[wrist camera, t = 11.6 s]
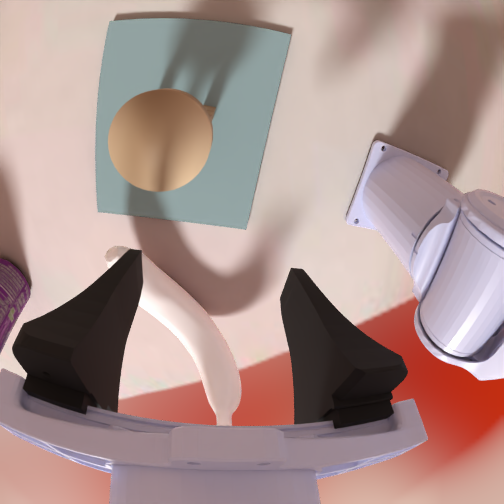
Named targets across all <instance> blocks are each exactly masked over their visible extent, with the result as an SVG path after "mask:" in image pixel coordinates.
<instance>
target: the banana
mask: <svg viewBox="0 0 504 504" xmlns="http://www.w3.org/2000/svg"><path fill="white" fill-rule="evenodd" d="M129 249H130V248H128V247H124V246H115V247H112V248H110V249H109V250H108V251H107V253H106V255H105V259H106V262H107V266H108V269H109V268H110V267H111V266H112V265H113V264H114V263H115V262H116V261H117V260H118V259H119V258H120V257H122V256H123V255H124V254H125V253H126V252H127V251H128V250H129ZM142 269H143V287H142V292H141V297H140V301H139V304H138V305H139V306H140V307H142V308H143V309H145V310H146V311H147V312H149V313H150V314H152V315H153V316H154V317H155V318H156V319H158V320H159V321H160V322H161V323H163V324H164V325H165V326H166V327H167V328H168V329H170V330H171V331H172V332H173V333H174V334H175V335H176V336H177V337H178V339H179V340H180V341H181V342H182V343H183V345H184V346H185V347H186V349H187V350H188V351H189V353H190V355H191V356H192V358H193V360H194V361H195V363H196V365H197V368H198V370H199V373H200V376H201V379H202V382H203V385H204V389H205V392H206V395H207V398H208V401H209V403H210V405H211V407H212V409H213V410H214V412H215V413H216V417H217V426H232V420H231V417H232V413H233V412H234V411H235V410H236V408H237V407H238V405H239V403H240V398H241V382H240V376H239V372H238V368H237V365H236V362H235V360H234V357H233V355H232V352H231V350H230V348H229V346H228V344H227V342H226V340H225V338H224V337H223V335H222V333H221V332H220V331H219V329H218V328H217V326H216V325H215V323H214V322H213V320H212V319H211V317H210V316H209V315H208V313H207V312H206V311H205V310H204V309H203V308H202V307H201V305H200V304H199V303H198V302H197V301H196V300H195V299H194V298H193V297H192V296H191V295H189V294H188V293H187V292H186V291H185V290H184V289H183V288H182V287H181V286H180V285H178V284H177V283H176V282H175V281H174V280H173V279H172V278H170V277H169V276H168V275H167V274H166V273H164V272H163V271H162V270H161V269H160V268H158V267H157V266H156V265H155V264H154V263H153V262H152V261H151V260H150V259H149V258H148V257H147V256H145V255H144V254H142Z"/></svg>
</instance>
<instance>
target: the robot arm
mask: <svg viewBox="0 0 504 504" xmlns="http://www.w3.org/2000/svg"><path fill="white" fill-rule="evenodd" d="M382 146H384V150H381V148H382ZM438 170H439V171H438ZM437 171H438V172H437ZM448 174H449V173H448V171H447V170H446V169H444V168H442V167H440V166H438V165H436V164H434V163H432V162H430V161H427V160H425V159H423V158H421V157H419V156H416V155H414V154H412V153H409V152H407V151H405V150H402V149H400V148H397V147H395V146H392V145H390V144H387V143H385V142H382V141H379V140H376V141H374V142H373V144H372V147H371V150H370V153H369V156H368V159H367V161H366V164H365V167H364V170H363V173H362V176H361V179H360V181H359V184H358V187H357V190H356V192H355V195H354V198H353V200H352V203H351V206H350V208H349V211H348V213H347V216H346V222H347V223H348V224H349V225H353V226H358V227H363V228H368V229H373V230H377V231H378V232H379V233H380V234H381V236H382V237H383V238H384V240H385V241H386V242H387V244H388V245H389V246H390V248H391V249H392V250H393V252H394V253H395V254H396V256H397V257H398V258H399V260H400V261H401V263H402V264H403V265H404V267H405V268H406V270H407V271H408V273H409V274H410V275H411V277H412V278H413V280H414V287H413V290H412V292H413V293H414V295H415V296H416V298H417V300H418V301H419V305H418V307H417V309H416V311H415V316H414V323H415V328H416V331H417V334H418V336H419V338H420V340H421V342H422V343H423V344H424V346H425V347H426V348H427V349H428V350H429V351H430V352H431V353H432V354H433V355H435V356H436V357H437V358H439V359H440V360H442V361H444V362H447V363H450V364H453V365H457V366H460V367H463V368H464V369H466V370H468V371H469V372H470V373H472V374H473V375H474V376H475V377H476V378H478V379H479V380H493V379H500V378H504V197H502V196H500V195H498V194H495V193H493V192H490V191H486V190H482V189H477V190H474V191H472V192H467V193H465V194H463V193H462V192H461V191H459V190H458V189H457V188H455V187H454V186H452V185H451V184H450V183H448V182H447V181H446V180H447V178H448ZM355 219H358V220H357V221H356V222H354V220H355ZM142 287H143V269H142V250H134V249H129V250H128V251H127V252H126V253H125V254H124V255H123V256H122V257H120V258H119V259H118V260H117V261H116V262H115V263H114V264H113V265H112V266H111V267H110V268H109V269H108V270H107V271H106V272H105V273H104V274H103V275H102V276H101V277H100V278H98V279H97V280H96V281H95V282H94V283H93V284H92V285H90V286H89V287H88V288H87V289H85V290H84V291H83V292H81V293H80V294H79V295H77V296H76V297H74V298H73V299H71V300H70V301H68V302H66V303H65V304H63V305H62V306H60V307H58V308H57V309H55V310H53V311H51V312H49V313H47V314H45V315H43V316H41V317H38V318H36V319H34V320H31V321H29V322H26V323H24V324H23V326H22V328H21V330H20V332H19V334H18V336H17V338H16V340H15V342H14V344H13V347H12V351H13V354H14V356H15V358H16V359H17V361H18V362H19V363H20V365H21V366H22V367H23V369H24V370H25V371H26V373H27V377H26V380H25V379H24V378H23V377H21V376H19V375H17V374H15V373H12V372H10V371H8V370H6V369H2V370H1V372H0V425H1V426H2V427H4V428H5V429H6V430H8V431H9V432H11V433H12V434H13V435H15V436H17V437H19V438H21V439H23V440H25V441H27V442H29V443H31V444H34V445H35V446H38V447H40V448H42V449H44V450H47V451H49V452H51V453H54V454H56V455H58V456H61V457H63V458H66V459H69V460H71V461H74V462H77V463H79V464H82V465H86V466H88V467H92V468H95V469H98V470H101V471H104V472H108V473H111V485H110V502H109V503H110V504H320V498H319V492H318V486H317V480H316V479H321V478H324V477H329V476H334V475H338V474H341V473H346V472H349V471H353V470H356V469H360V468H363V467H366V466H370V465H373V464H376V463H379V462H382V461H385V460H388V459H391V458H394V457H397V456H399V455H401V454H403V453H405V452H407V451H408V450H410V449H412V448H414V447H416V446H418V445H419V444H421V443H423V442H425V441H427V439H428V438H427V435H426V432H425V429H424V426H423V423H422V420H421V417H420V415H419V412H418V409H417V406H416V404H415V401H414V399H409V400H406V401H401V402H398V403H395V404H393V405H391V403H390V400H391V399H392V398H393V396H392V393H391V391H392V390H394V388H396V387H397V386H398V385H399V384H400V383H401V382H402V381H403V380H404V379H405V377H406V376H407V373H408V370H407V368H406V366H405V363H404V361H403V359H402V357H401V356H400V355H398V354H396V353H394V352H393V351H391V350H389V349H387V348H385V347H384V346H382V345H380V344H379V343H377V342H376V341H374V340H373V339H371V338H370V337H368V336H367V335H366V334H364V333H363V332H362V331H360V330H359V329H358V328H357V327H356V326H354V325H353V324H352V323H351V322H350V321H349V320H348V319H347V318H345V317H344V316H343V315H342V314H341V313H340V312H339V311H338V310H337V309H336V308H335V307H334V305H333V304H332V303H331V302H330V301H329V300H328V299H327V298H326V297H325V295H324V294H323V293H322V292H321V291H320V289H319V288H318V287H317V286H316V285H315V283H314V282H313V281H312V280H311V278H310V277H309V276H308V275H307V274H306V272H305V271H304V270H303V269H297V268H291V270H290V272H289V275H288V278H287V281H286V283H285V286H284V289H283V292H282V294H281V297H280V302H281V314H282V320H283V324H284V329H285V333H286V337H287V342H288V346H289V351H290V356H291V363H292V373H293V386H294V409H295V410H294V425H278V426H217V425H215V426H214V425H200V424H188V423H178V422H170V421H162V420H155V419H148V418H141V417H137V416H131V415H126V414H120V413H117V412H118V395H119V385H120V376H121V369H122V362H123V356H124V350H125V345H126V341H127V337H128V334H129V331H130V328H131V325H132V322H133V319H134V316H135V313H136V310H137V307H138V304H139V301H140V297H141V292H142Z"/></svg>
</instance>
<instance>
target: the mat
mask: <svg viewBox="0 0 504 504" xmlns="http://www.w3.org/2000/svg"><path fill="white" fill-rule="evenodd" d="M290 38H291V34H287V33H283V32H279V31H274V30H270V29H265V28H260V27H255V26H249V25H243V24H236V23H229V22H221V21H211V20H199V19H180V18H148V19H129V20H117V21H110V22H109V27H108V31H107V36H106V41H105V47H104V53H103V59H102V66H101V73H100V81H99V91H98V102H97V116H96V146H95V161H96V192H97V207H98V212H103V213H112V214H122V215H131V216H140V217H149V218H158V219H166V220H175V221H183V222H191V223H199V224H207V225H215V226H223V227H230V228H238V229H245V230H246V228H247V223H248V219H249V214H250V210H251V205H252V201H253V196H254V192H255V187H256V183H257V179H258V174H259V170H260V165H261V161H262V157H263V152H264V148H265V143H266V139H267V135H268V130H269V126H270V122H271V118H272V113H273V109H274V105H275V101H276V96H277V92H278V88H279V84H280V79H281V75H282V71H283V67H284V63H285V59H286V54H287V50H288V46H289V42H290ZM165 88H170V89H177V90H181V91H184V92H187V93H189V94H191V95H192V96H194V97H195V98H196V99H198V100H199V101H200V102H201V103H202V104H203V105H207V106H212V107H216V110H215V113H214V117H213V120H212V126H213V141H212V146H211V149H210V153H209V156H208V159H207V161H206V163H205V165H204V167H203V168H202V170H201V171H200V172H199V174H198V175H197V176H196V177H195V178H194V179H193V180H191V181H190V182H189V183H187V184H185V185H184V186H182V187H180V188H177V189H174V190H170V191H164V192H154V191H148V190H144V189H141V188H138V187H136V186H134V185H132V184H131V183H129V182H128V181H127V180H125V179H124V178H123V177H122V176H121V175H120V173H119V172H118V171H117V169H116V168H115V166H114V164H113V162H112V160H111V157H110V154H109V149H108V134H109V129H110V126H111V123H112V121H113V119H114V117H115V115H116V113H117V112H118V111H119V109H120V108H121V107H122V106H123V105H124V104H125V103H126V102H127V101H129V100H130V99H131V98H133V97H135V96H137V95H139V94H141V93H144V92H147V91H151V90H157V89H165Z"/></svg>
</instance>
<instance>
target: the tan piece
mask: <svg viewBox="0 0 504 504" xmlns="http://www.w3.org/2000/svg"><path fill="white" fill-rule="evenodd" d="M215 110H216V107H212V106H207V105H203V104H202V103H201V102H200V101H199V100H198V99H196V98H195V97H194V96H192V95H191V94H189V93H187V92H184V91H181V90H177V89H170V88H165V89H157V90H151V91H147V92H144V93H141V94H139V95H137V96H135V97H133V98H131V99H130V100H129V101H127V102H126V103H125V104H124V105H123V106H122V107H121V108H120V109H119V111H118V112H117V113H116V115H115V117H114V119H113V121H112V123H111V126H110V129H109V134H108V149H109V154H110V157H111V160H112V162H113V164H114V166H115V168H116V169H117V171H118V172H119V173H120V175H121V176H122V177H123V178H124V179H125V180H127V181H128V182H129V183H131V184H132V185H134V186H136V187H138V188H141V189H144V190H148V191H154V192H164V191H170V190H174V189H177V188H180V187H182V186H184V185H185V184H187V183H189V182H190V181H191V180H193V179H194V178H195V177H196V176H197V175H198V174H199V172H200V171H201V170H202V168H203V167H204V165H205V163H206V161H207V159H208V156H209V153H210V149H211V146H212V141H213V126H212V120H213V117H214V113H215Z"/></svg>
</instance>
